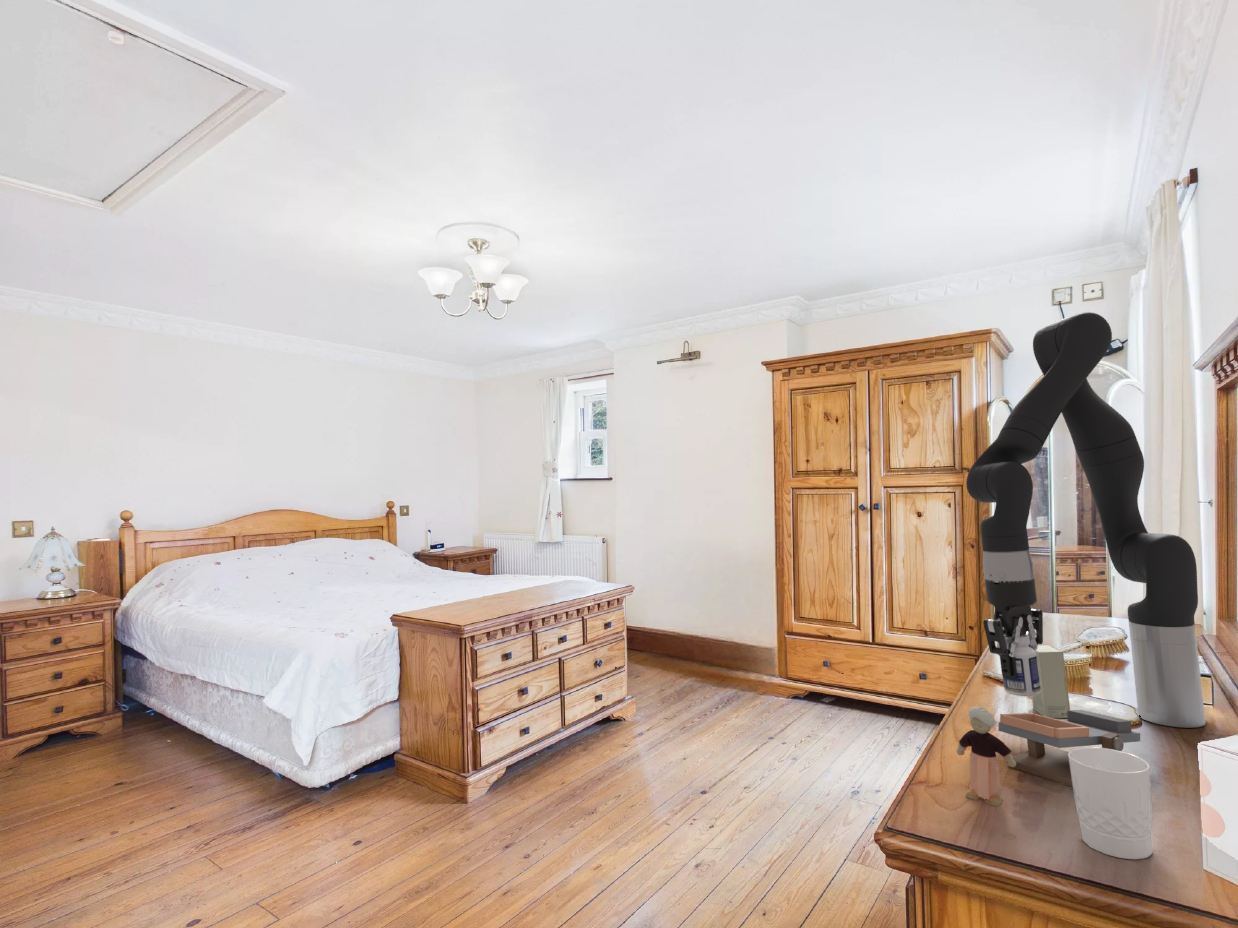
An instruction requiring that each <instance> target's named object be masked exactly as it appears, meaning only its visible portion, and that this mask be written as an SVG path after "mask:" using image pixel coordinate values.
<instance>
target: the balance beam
mask: <svg viewBox="0 0 1238 928" xmlns="http://www.w3.org/2000/svg"><path fill="white" fill-rule="evenodd" d="M997 730H998V731H999V732H1000V733H1001V732H1002V733H1005V734H1009V735H1013V736H1016V737H1019V738H1023V739H1026V740H1027V739H1029V740H1033V741H1036V742H1040V743H1043V744H1044V745H1047V746H1050V747H1054V748H1057V749H1063V748H1064V749H1066V748H1075V747H1076V748H1079V747H1091V746H1102V743H1101V736H1102V735H1104V734H1107V733H1109V732H1110V733H1114V734H1118V735H1119V738H1121V739H1122V740H1123V743H1124V744H1126V743H1137V742H1141V732H1137V731H1132V721H1131V720H1127V719H1123V718H1119V717H1115V716H1111V715H1106V714H1102V713H1097V712H1094V711H1093V712H1092V711H1088V710H1086V709H1085V710H1083V709H1070V710H1067V718H1060V719H1058V718H1049V717H1045V716H1043V715H1042V716H1041V714H1038V715H1037V713H1031V712H1028V713H1027V712H1022V713H1000V714H999V721H998V729H997Z"/></svg>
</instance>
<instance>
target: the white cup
mask: <svg viewBox="0 0 1238 928" xmlns="http://www.w3.org/2000/svg"><path fill="white" fill-rule="evenodd" d="M1068 759H1069V765H1070V772H1071V779H1072V785H1073V787H1072V790H1073V798H1074V804H1075V807H1076V815H1077V817H1078V821H1079V825H1080V833H1081V838H1082V839H1081V840H1082V841H1083V842H1084V844H1086V845H1087V846H1089V847H1090V848H1091V849H1093V850H1094V851H1097V852H1099V853H1102V854H1104V855H1107V856H1112V857H1115V858H1119V859H1126V860H1143V859H1147V858H1148V857H1150V856H1151V855H1152V854H1153V840H1152V828H1153V817H1152V816H1153V815H1152V814H1153V809H1152V806H1153V805H1152V804H1153V803H1152V788H1151V787H1152V785H1151V770H1150V769H1151V767H1150V764H1149V762H1147V761H1146V760H1145V759H1143V758H1141V757H1140V756H1137V755H1134V754H1132V753H1129V752H1125V751H1123V750H1122V751H1118V750H1113V749H1107V748H1102V747H1095V746H1094V747H1093V746H1092V747H1091V746H1081V747H1076V748H1073V749H1071V750H1069V751H1068Z"/></svg>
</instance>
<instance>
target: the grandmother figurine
mask: <svg viewBox="0 0 1238 928" xmlns="http://www.w3.org/2000/svg"><path fill="white" fill-rule="evenodd" d="M967 716H968V718H969V720H970V726H971V728H972V729H971V730H968V731H967V732H966V733H964V735H963V736H962V737H961V738H960V739H959V740H958V744H957V748H956V753H957V755H958V756H964V755H965V751H966V750H967V748H968V747H971V751H970V754H969V772H970V773H969V774H970V775H969V777H970V778H969V781H970V783H969V784H970V789H968V790H967V791H966V792H965V797H966V798H968V799H970V800H980V799H983V800H984V802H985V803H986V804H987V805H991V806H994V807H995V806H996V807H997V806H1001V805H1002V802H1003V799H1002V797H1001V773H1000V766H999V760H998V756H997V754H999V755H1000V756H1001V757H1003V758H1004V760H1005V761H1007V762H1006V763H1007V766H1008V765H1009V766H1008V767H1011V768H1013V767H1015V766H1016V762H1015V761H1014V759H1013V757H1014V756H1013V754H1012V753H1011V752H1012V750H1011V749H1010V747H1008V746H1007V744H1005V743H1004V742H1003V741H1002V740H1001V739H999V737H997V736H995V735H994V734H991V732H990V731H991V730H992V728H993V727H994V726H996V724H997V721H996V720H995V717H994V716H993V714H992V713H991V712H990V711H989V710H987V709H986V708H985V707H983V706H972V707H970V708H969V710H968V715H967Z"/></svg>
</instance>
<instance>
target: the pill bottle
mask: <svg viewBox="0 0 1238 928" xmlns="http://www.w3.org/2000/svg"><path fill="white" fill-rule="evenodd" d="M1004 636H1005V635H1004ZM1005 637H1009V638H1010V637H1012V636H1005ZM1029 644H1030V640H1029V635H1027V634H1025V635H1020V637H1019V643H1018V644H1016V646H1015V654H1014V657H1015V660H1016V668H1017V678H1016V679H1008V678H1004V677H1003V676H1002V681H1003V689H1004V691H1005V692H1006V693H1008V694H1009V695H1013V696H1018V697H1032V696H1035V695H1038V694H1040V692H1041V690H1040V681H1039V673H1038V665H1037V657H1036V652H1035V650H1034V649H1033V648H1031V647H1029ZM1006 645H1007V649H1008V646H1009V643H1007V642H1006Z"/></svg>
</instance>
